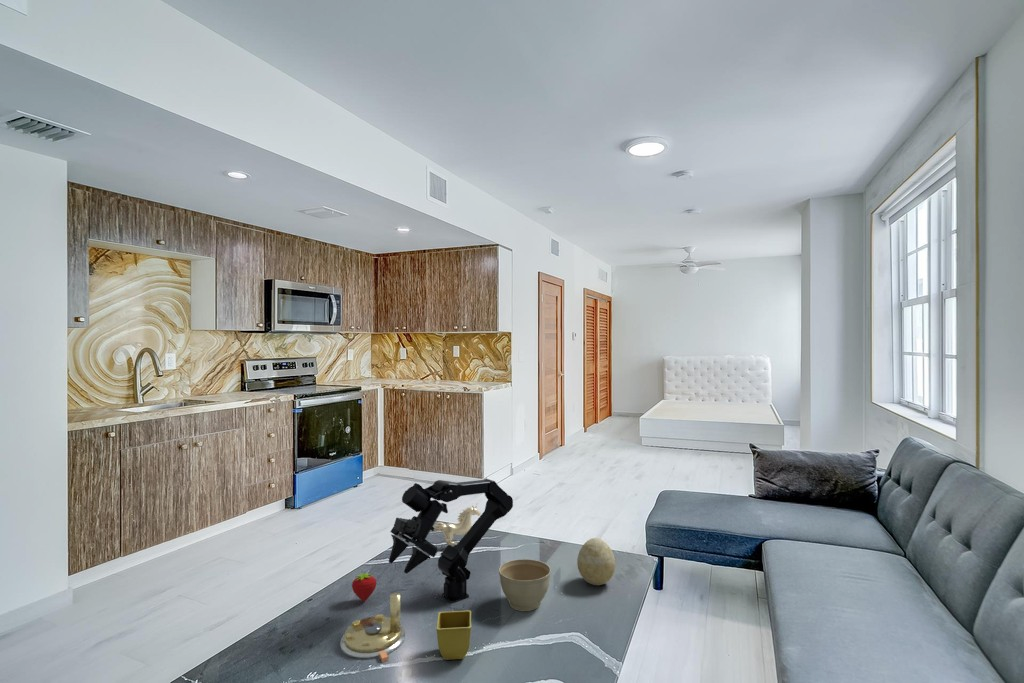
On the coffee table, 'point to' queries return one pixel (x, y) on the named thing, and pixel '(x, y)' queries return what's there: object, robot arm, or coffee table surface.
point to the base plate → (373, 629)
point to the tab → (383, 656)
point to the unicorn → (457, 525)
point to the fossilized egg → (596, 562)
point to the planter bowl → (524, 583)
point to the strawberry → (364, 586)
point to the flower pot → (454, 634)
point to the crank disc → (380, 641)
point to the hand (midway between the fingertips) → (397, 567)
